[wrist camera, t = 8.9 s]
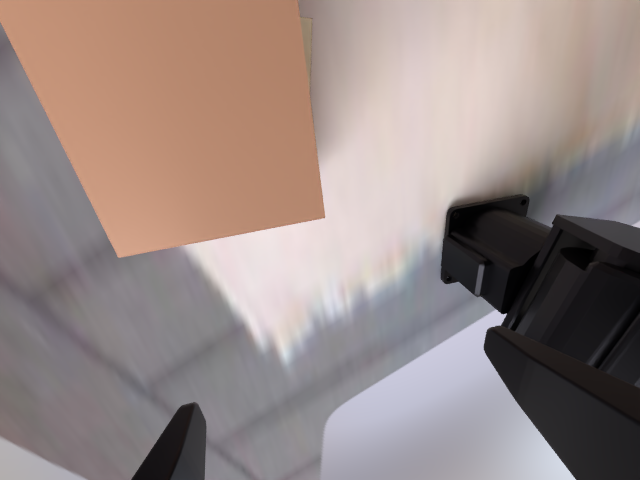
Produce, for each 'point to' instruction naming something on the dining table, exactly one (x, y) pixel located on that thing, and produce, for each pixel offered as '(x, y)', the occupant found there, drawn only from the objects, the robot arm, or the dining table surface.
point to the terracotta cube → (176, 112)
